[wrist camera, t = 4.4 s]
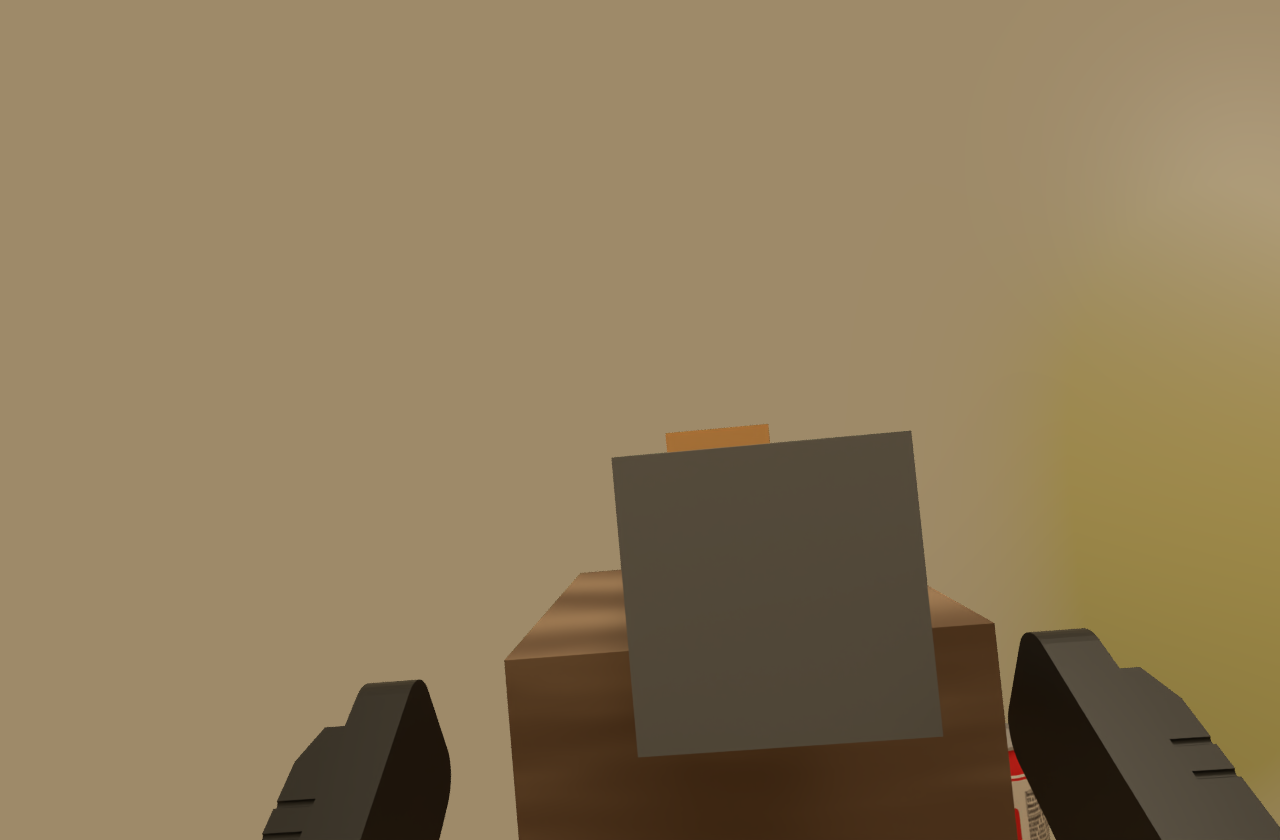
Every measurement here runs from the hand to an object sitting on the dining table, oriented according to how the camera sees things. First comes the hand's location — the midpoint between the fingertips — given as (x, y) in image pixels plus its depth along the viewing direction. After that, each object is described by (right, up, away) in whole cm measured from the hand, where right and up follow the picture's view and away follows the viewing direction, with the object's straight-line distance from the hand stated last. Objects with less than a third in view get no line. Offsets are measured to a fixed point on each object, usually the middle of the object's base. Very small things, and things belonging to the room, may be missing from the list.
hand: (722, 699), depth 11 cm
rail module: (+1, -1, +11) cm, 11 cm away
